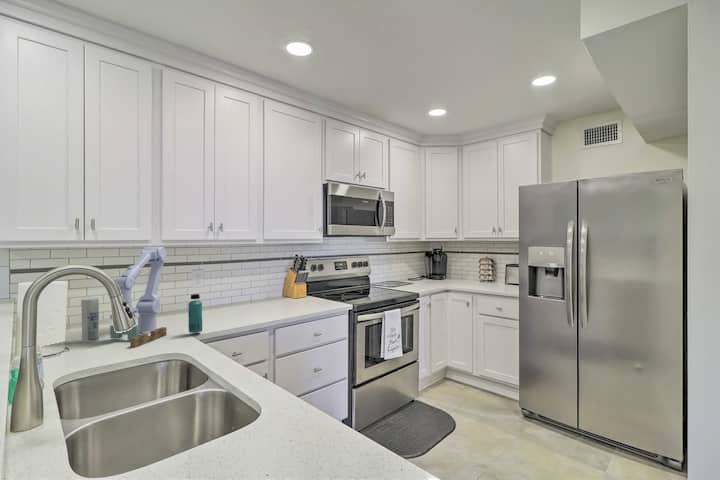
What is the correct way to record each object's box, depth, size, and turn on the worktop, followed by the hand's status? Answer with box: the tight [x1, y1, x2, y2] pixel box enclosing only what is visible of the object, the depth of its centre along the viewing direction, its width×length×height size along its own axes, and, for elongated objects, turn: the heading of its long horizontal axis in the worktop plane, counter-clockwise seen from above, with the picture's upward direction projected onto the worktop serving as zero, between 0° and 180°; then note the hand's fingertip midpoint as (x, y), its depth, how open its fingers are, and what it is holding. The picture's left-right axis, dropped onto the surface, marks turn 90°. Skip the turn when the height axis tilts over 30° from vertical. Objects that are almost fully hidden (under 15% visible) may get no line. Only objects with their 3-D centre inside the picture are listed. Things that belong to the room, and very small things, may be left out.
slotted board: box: [129, 326, 167, 349], centre depth 169 cm, size 20×2×4 cm, turn 171°
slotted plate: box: [109, 324, 141, 340], centre depth 171 cm, size 14×2×6 cm, turn 81°
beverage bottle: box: [187, 293, 203, 334], centre depth 180 cm, size 6×7×20 cm
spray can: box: [80, 297, 100, 344], centre depth 170 cm, size 6×6×20 cm
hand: (124, 330), depth 171 cm, fingers closed on slotted plate, 2 cm apart
